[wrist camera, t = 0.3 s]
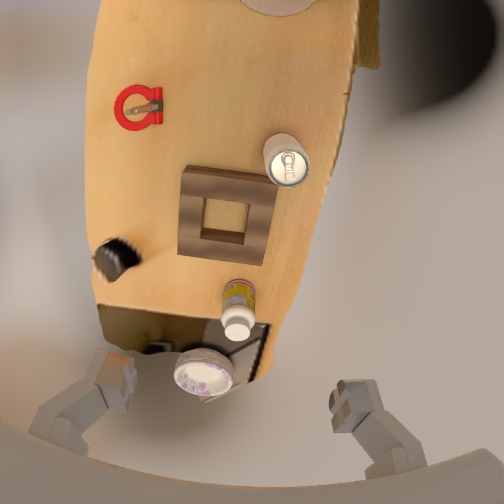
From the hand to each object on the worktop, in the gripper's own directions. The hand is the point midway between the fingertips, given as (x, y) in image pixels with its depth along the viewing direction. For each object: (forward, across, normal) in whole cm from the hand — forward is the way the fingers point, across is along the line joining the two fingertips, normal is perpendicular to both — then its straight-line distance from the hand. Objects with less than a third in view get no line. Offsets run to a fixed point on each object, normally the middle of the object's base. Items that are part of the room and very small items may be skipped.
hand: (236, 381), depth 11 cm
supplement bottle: (+46, -3, +31) cm, 55 cm away
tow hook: (+46, +20, -5) cm, 50 cm away
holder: (+46, +2, +13) cm, 47 cm away
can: (+46, -6, 0) cm, 46 cm away
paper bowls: (+46, +3, +56) cm, 73 cm away
